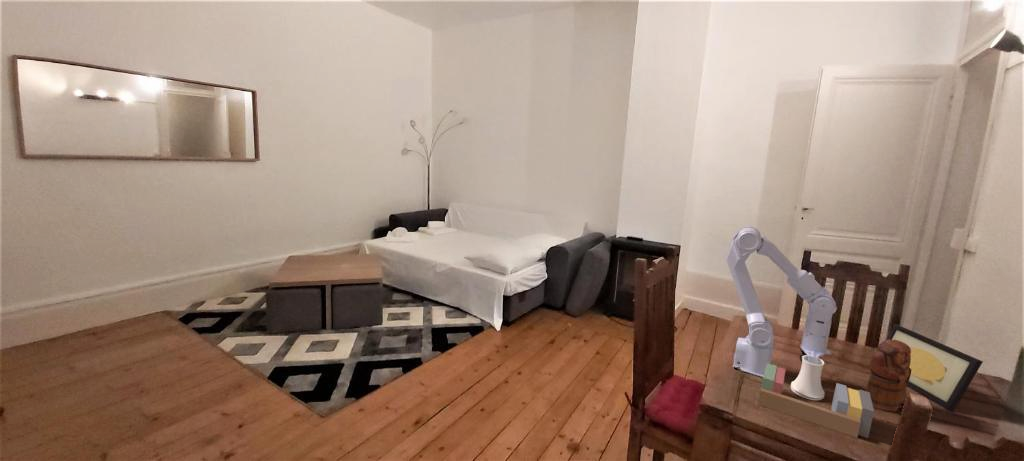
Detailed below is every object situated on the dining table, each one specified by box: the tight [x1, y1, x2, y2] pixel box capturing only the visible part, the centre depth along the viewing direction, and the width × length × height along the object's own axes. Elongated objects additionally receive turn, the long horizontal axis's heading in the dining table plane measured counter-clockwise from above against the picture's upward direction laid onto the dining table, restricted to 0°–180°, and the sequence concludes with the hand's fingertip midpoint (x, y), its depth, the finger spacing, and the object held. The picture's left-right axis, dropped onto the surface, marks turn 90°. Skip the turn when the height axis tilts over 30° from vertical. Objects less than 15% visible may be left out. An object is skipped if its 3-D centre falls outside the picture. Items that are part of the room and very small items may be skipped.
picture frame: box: [885, 323, 984, 412], centre depth 116 cm, size 23×9×15 cm, turn 1°
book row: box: [758, 363, 875, 439], centre depth 103 cm, size 22×12×7 cm, turn 53°
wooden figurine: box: [865, 339, 911, 412], centre depth 106 cm, size 12×6×18 cm, turn 118°
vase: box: [790, 355, 826, 401], centre depth 110 cm, size 8×8×10 cm
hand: (807, 376), depth 116 cm, fingers open, 5 cm apart
